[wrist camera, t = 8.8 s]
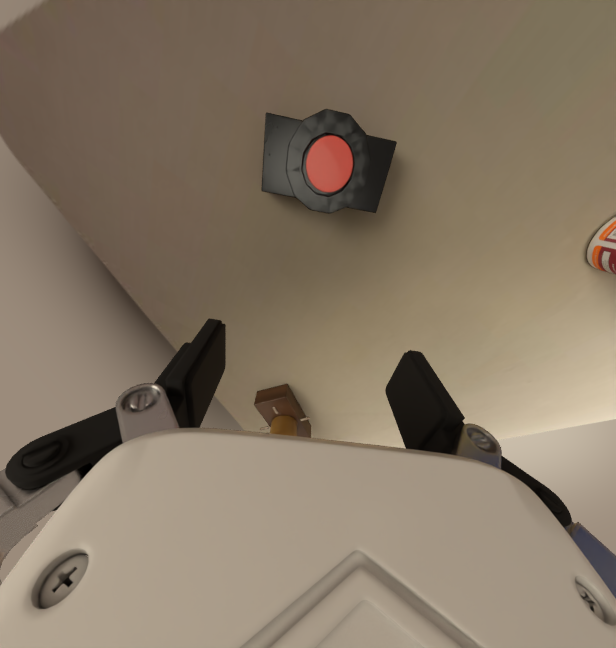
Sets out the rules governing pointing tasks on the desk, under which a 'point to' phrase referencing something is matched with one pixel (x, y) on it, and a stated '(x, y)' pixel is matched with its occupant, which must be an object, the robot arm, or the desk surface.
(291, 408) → the dial panel
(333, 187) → the button
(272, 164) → the button housing
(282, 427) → the knob
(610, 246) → the pill bottle
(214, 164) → the desk surface
